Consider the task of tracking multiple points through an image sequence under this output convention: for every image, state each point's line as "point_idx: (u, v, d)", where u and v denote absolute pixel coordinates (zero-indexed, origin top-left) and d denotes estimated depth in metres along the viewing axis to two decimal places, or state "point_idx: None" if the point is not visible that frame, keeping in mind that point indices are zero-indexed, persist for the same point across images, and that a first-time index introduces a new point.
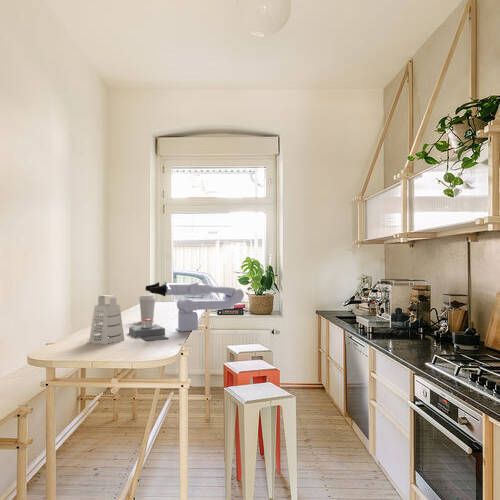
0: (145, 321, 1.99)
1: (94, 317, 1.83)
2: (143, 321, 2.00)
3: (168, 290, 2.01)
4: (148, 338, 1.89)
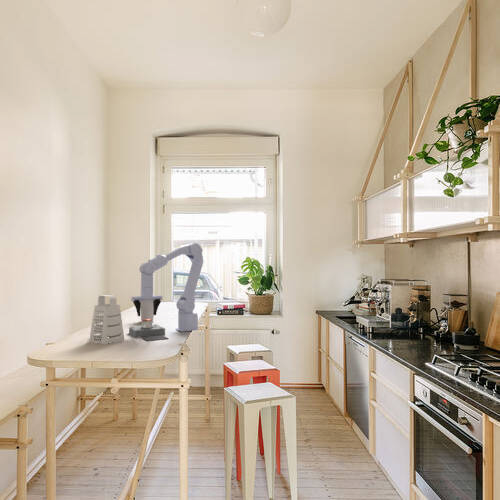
0: (145, 321, 1.99)
1: (94, 317, 1.83)
2: (143, 321, 2.00)
3: None
4: (148, 338, 1.89)
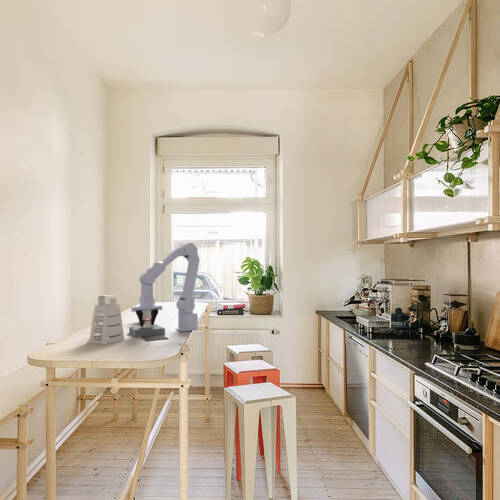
0: (145, 321, 1.99)
1: (94, 317, 1.83)
2: (143, 321, 2.00)
3: None
4: (148, 338, 1.89)
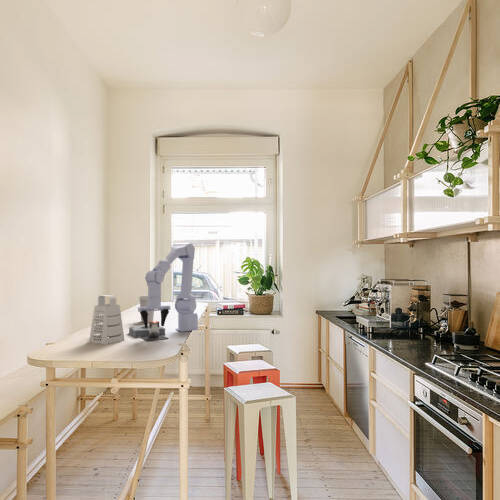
0: (152, 323, 1.90)
1: (94, 317, 1.83)
2: (150, 323, 1.90)
3: None
4: (148, 338, 1.89)
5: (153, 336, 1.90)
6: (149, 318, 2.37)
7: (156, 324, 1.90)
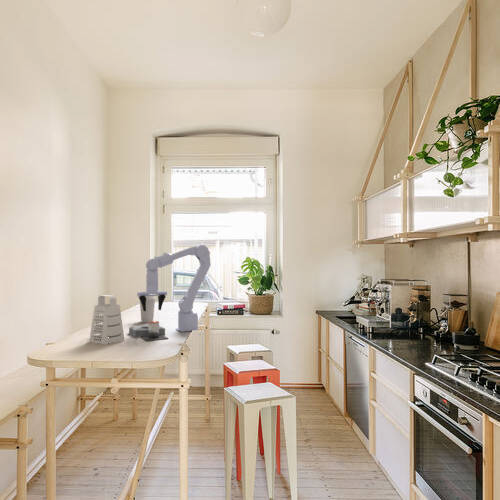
0: (152, 323, 1.90)
1: (94, 317, 1.83)
2: (150, 323, 1.90)
3: None
4: (148, 338, 1.89)
5: (153, 336, 1.90)
6: (149, 318, 2.37)
7: (156, 324, 1.90)
